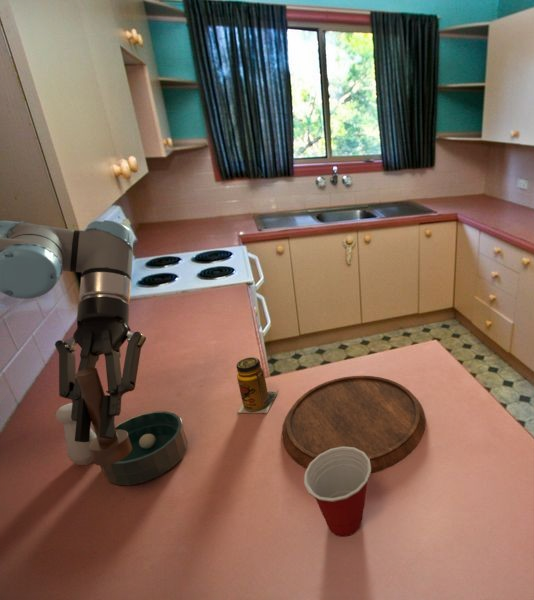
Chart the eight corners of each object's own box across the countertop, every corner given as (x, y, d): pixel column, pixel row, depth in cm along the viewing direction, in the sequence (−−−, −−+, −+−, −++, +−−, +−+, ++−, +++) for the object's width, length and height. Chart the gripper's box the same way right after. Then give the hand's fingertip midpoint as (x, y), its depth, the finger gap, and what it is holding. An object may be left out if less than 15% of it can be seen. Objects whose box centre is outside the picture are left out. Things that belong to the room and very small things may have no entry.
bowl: (94, 496, 79) (83, 472, 77) (117, 441, 93) (109, 419, 90) (182, 475, 83) (174, 452, 81) (192, 426, 97) (186, 405, 94)
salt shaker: (108, 457, 89) (88, 406, 83) (76, 473, 85) (53, 421, 80) (100, 444, 92) (80, 394, 87) (68, 459, 88) (46, 408, 83)
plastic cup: (306, 507, 76) (298, 455, 71) (365, 488, 79) (360, 438, 74) (318, 562, 66) (309, 506, 62) (383, 538, 70) (380, 484, 65)
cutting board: (317, 504, 76) (315, 493, 75) (263, 411, 101) (261, 402, 100) (454, 433, 92) (454, 423, 91) (379, 368, 117) (378, 360, 116)
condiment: (237, 413, 101) (227, 370, 96) (250, 391, 108) (242, 351, 104) (267, 413, 100) (258, 370, 95) (278, 392, 108) (271, 351, 103)
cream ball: (139, 448, 90) (134, 446, 87) (144, 434, 92) (139, 431, 89) (154, 450, 91) (150, 448, 88) (159, 435, 92) (155, 433, 89)
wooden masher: (89, 469, 69) (59, 384, 64) (98, 448, 74) (71, 367, 69) (128, 460, 71) (102, 376, 66) (135, 440, 76) (111, 360, 71)
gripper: (161, 305, 81) (157, 433, 72) (67, 315, 78) (52, 449, 69) (144, 289, 74) (138, 428, 65) (40, 299, 71) (20, 446, 62)
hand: (94, 439), depth 67 cm, fingers closed on wooden masher, 3 cm apart
